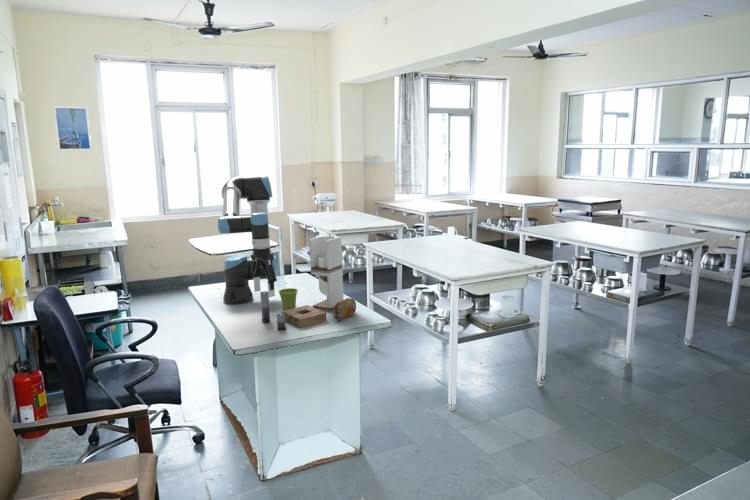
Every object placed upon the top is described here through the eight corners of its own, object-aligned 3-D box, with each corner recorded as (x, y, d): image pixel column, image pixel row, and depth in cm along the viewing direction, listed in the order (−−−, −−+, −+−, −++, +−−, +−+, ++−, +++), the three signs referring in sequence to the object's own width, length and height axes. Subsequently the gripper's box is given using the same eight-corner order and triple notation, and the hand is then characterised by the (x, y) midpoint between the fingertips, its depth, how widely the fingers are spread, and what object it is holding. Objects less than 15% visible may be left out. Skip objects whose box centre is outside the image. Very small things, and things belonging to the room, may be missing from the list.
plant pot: (294, 310, 257) (294, 293, 255) (276, 310, 259) (275, 293, 257) (301, 305, 266) (300, 288, 264) (283, 304, 268) (282, 288, 266)
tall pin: (260, 321, 242) (258, 292, 239) (268, 320, 244) (266, 290, 241) (264, 323, 239) (262, 293, 236) (271, 321, 241) (269, 292, 239)
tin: (338, 322, 238) (337, 304, 236) (332, 321, 240) (331, 304, 238) (356, 313, 250) (356, 296, 249) (351, 312, 252) (350, 295, 250)
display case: (326, 303, 268) (323, 235, 261) (343, 306, 263) (341, 236, 256) (312, 309, 258) (309, 239, 252) (330, 312, 253) (327, 240, 246)
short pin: (275, 329, 231) (274, 314, 230) (283, 327, 233) (282, 312, 232) (280, 331, 228) (279, 316, 227) (287, 329, 231) (286, 314, 229)
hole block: (282, 319, 244) (281, 311, 244) (307, 312, 253) (307, 304, 252) (300, 328, 232) (299, 319, 231) (326, 320, 241) (326, 312, 240)
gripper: (241, 245, 242) (244, 290, 246) (267, 252, 223) (270, 300, 227) (256, 243, 247) (259, 287, 251) (282, 249, 228) (285, 297, 231)
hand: (264, 293), depth 239 cm, fingers open, 13 cm apart
